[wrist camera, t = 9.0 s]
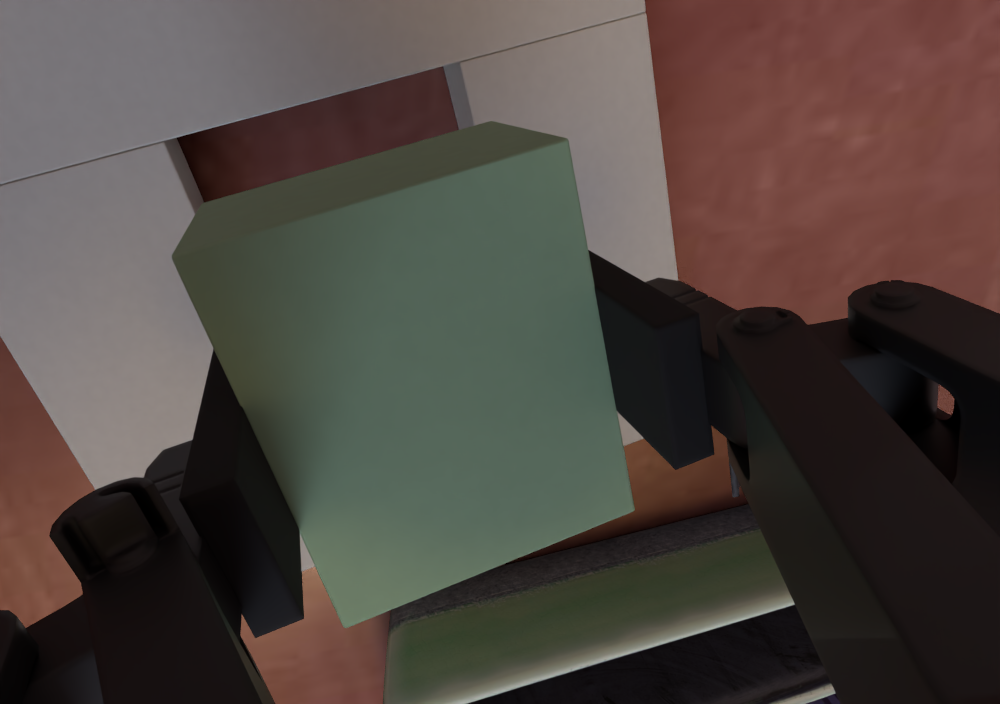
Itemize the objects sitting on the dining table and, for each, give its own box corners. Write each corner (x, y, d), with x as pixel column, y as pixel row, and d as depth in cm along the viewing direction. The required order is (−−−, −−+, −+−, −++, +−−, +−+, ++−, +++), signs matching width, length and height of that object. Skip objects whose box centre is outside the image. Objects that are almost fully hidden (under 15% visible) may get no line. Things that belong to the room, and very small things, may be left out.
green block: (199, 203, 14) (169, 255, 10) (492, 119, 15) (569, 137, 11) (329, 503, 18) (344, 630, 14) (559, 417, 19) (636, 511, 15)
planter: (378, 696, 33) (403, 846, 27) (358, 580, 30) (380, 716, 24) (848, 561, 40) (958, 655, 33) (868, 456, 37) (992, 536, 31)
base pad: (-173, -30, 18) (-236, -44, 16) (584, -187, 22) (619, -216, 20) (183, 576, 27) (175, 621, 25) (666, 394, 31) (695, 419, 29)
